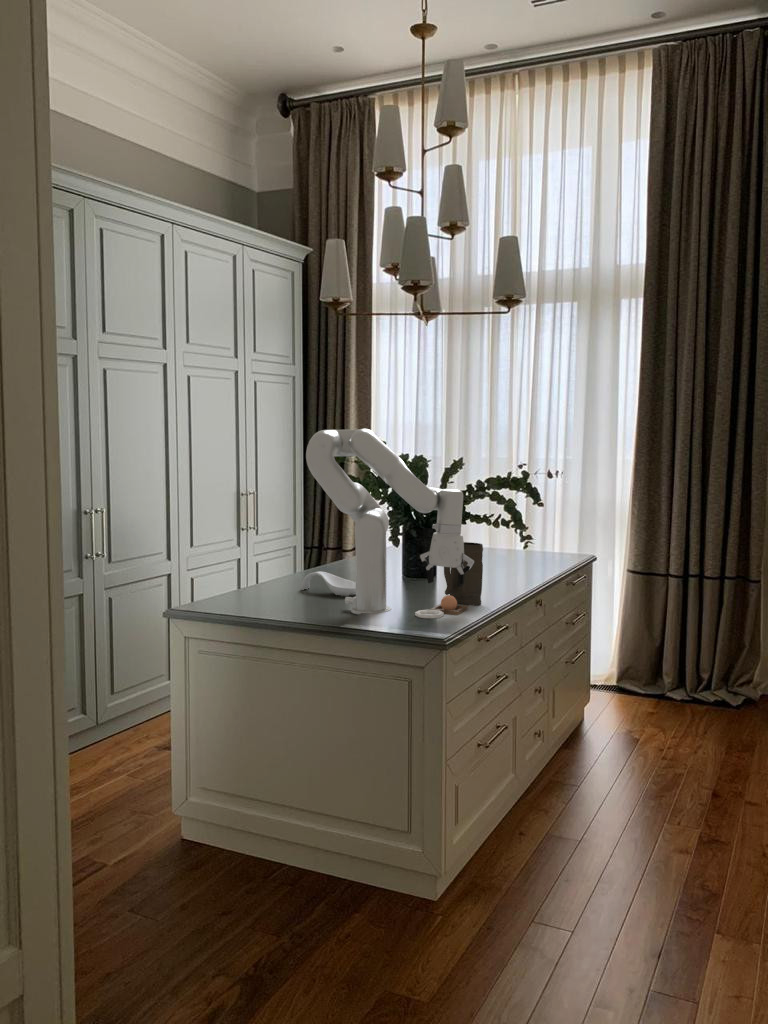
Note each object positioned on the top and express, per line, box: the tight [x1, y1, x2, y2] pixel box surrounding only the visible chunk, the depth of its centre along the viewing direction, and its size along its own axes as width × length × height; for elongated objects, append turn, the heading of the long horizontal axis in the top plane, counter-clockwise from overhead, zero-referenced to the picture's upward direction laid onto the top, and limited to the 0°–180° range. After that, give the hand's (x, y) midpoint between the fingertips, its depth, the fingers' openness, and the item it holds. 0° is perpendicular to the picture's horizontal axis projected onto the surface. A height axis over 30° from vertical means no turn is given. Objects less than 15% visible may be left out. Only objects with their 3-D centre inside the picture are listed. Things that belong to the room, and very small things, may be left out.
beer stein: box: [443, 541, 484, 606], centre depth 297 cm, size 15×11×20 cm
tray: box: [429, 603, 468, 616], centre depth 283 cm, size 9×9×2 cm
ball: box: [440, 594, 458, 610], centre depth 283 cm, size 5×5×5 cm
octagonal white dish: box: [414, 609, 445, 619], centre depth 276 cm, size 8×8×2 cm
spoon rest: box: [300, 571, 356, 597], centre depth 318 cm, size 24×12×7 cm, turn 60°
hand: (445, 584), depth 283 cm, fingers open, 9 cm apart
